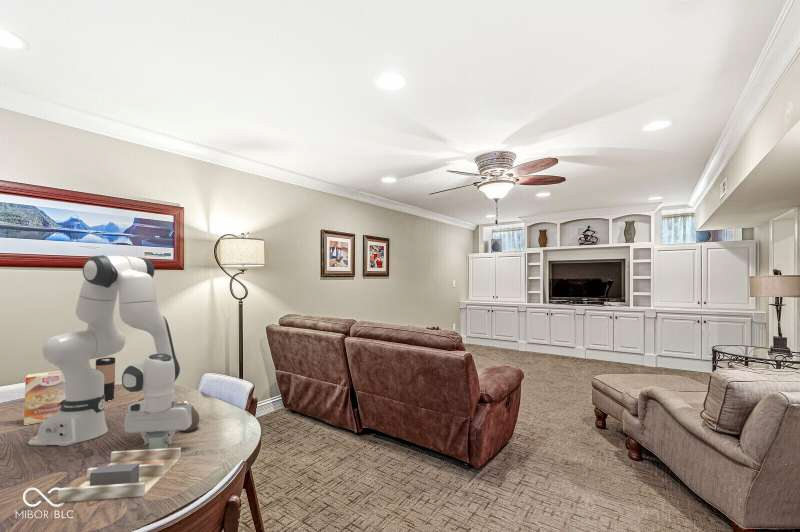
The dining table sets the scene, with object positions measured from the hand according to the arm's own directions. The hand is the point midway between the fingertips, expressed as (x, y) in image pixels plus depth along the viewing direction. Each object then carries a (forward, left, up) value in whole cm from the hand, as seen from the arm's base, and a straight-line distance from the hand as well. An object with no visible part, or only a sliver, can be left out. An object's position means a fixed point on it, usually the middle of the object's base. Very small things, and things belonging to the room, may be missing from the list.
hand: (158, 443), depth 127 cm
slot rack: (+1, -20, -2) cm, 20 cm away
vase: (+3, +17, -2) cm, 17 cm away
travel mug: (-54, +62, -2) cm, 82 cm away
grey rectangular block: (0, 0, -2) cm, 2 cm away
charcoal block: (+1, -25, -1) cm, 25 cm away
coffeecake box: (-60, +37, -2) cm, 71 cm away
